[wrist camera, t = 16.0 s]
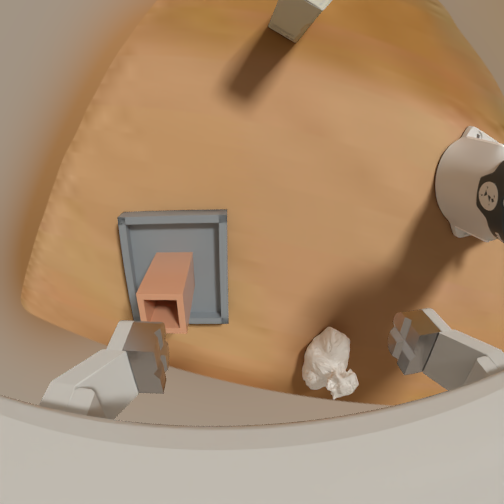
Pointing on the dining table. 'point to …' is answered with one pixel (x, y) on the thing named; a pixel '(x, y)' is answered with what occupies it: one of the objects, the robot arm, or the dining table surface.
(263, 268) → the dining table surface
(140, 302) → the cup
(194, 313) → the tray
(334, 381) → the bust
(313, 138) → the dining table surface
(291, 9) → the skincare box
